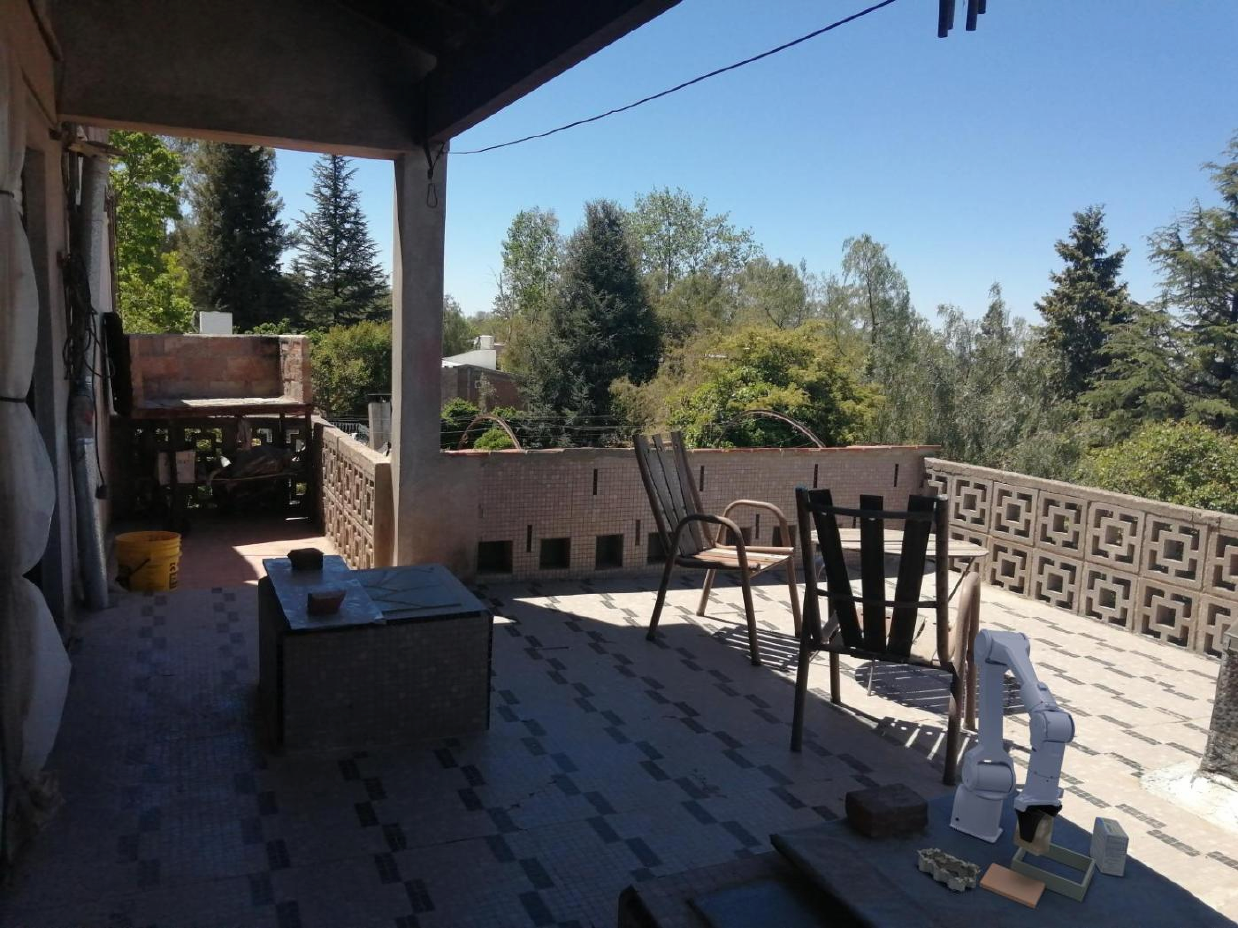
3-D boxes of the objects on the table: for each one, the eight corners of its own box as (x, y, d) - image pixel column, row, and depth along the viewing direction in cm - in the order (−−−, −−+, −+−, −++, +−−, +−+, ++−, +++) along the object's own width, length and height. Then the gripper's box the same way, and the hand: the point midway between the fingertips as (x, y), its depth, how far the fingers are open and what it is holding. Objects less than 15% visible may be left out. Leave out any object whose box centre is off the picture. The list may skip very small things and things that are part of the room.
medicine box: (1122, 877, 188) (1130, 837, 187) (1099, 872, 189) (1107, 833, 188) (1110, 858, 196) (1117, 819, 195) (1088, 853, 197) (1095, 815, 196)
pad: (979, 885, 178) (979, 882, 178) (992, 866, 186) (992, 862, 186) (1034, 908, 172) (1035, 904, 172) (1045, 887, 181) (1045, 883, 180)
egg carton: (981, 888, 178) (984, 868, 177) (954, 896, 174) (958, 875, 174) (937, 859, 187) (940, 840, 186) (911, 865, 183) (914, 846, 183)
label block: (1036, 855, 177) (1043, 821, 176) (1012, 842, 181) (1018, 808, 181) (1048, 851, 179) (1054, 817, 179) (1023, 838, 184) (1029, 805, 183)
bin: (1009, 873, 184) (1012, 859, 184) (1025, 847, 196) (1027, 834, 195) (1081, 901, 177) (1084, 887, 176) (1093, 873, 188) (1095, 859, 188)
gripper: (1043, 787, 171) (1031, 856, 173) (1083, 774, 180) (1071, 839, 181) (1008, 771, 177) (997, 837, 178) (1048, 759, 185) (1037, 822, 187)
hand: (1032, 837), depth 180 cm, fingers closed on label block, 4 cm apart
